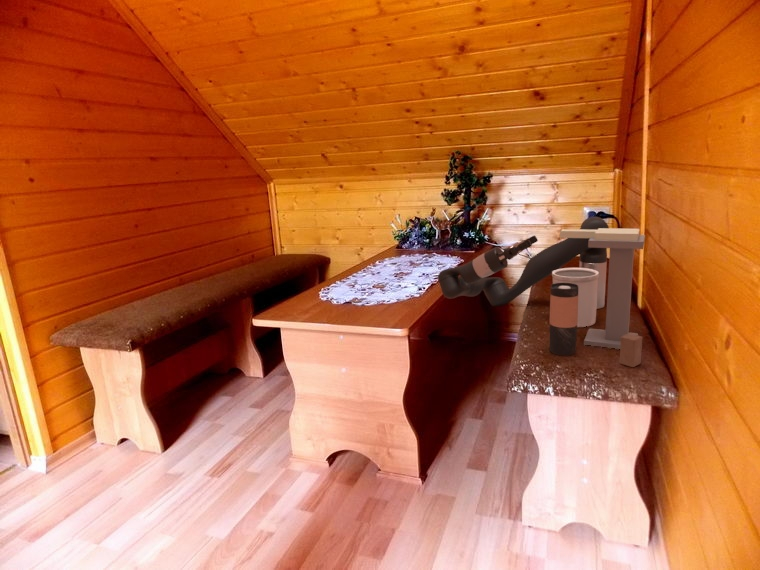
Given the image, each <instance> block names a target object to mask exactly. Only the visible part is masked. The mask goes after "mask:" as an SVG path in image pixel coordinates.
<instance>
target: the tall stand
mask: <svg viewBox="0 0 760 570" xmlns="http://www.w3.org/2000/svg"><path fill="white" fill-rule="evenodd" d="M645 238H646V234H639V238H638V241H612V240H595V238H590V239H589V240H588V247H591V248H607V249H609V259H608V260H609V261H608V262H609V263H608V275H607V276H608V279H607V293H606V294H607V297H606V314H605V315H606V317H605V329H601V328H598V329H597V328H590V327H589V328H588V330H587V332H586V336H585V338H584V340H583V346H585V345H591V346H590V347H594V346H601V347H600V348H602V347H608V348H607V349H611V348H615V349H614V350H619V349H620V347H621V337H622V336H624V335H626V334H629V333H630V334H634V335H638V336H639V333H637V332H631V331H630V319H631V317H630V316H631V315H630V314H631V301H632V300H631V299H632V287H633V286H632V285H633V272H634V258H635V257H634V256H635V254H634V253H635V250H643V249H644V247H645V240H646V239H645ZM629 331H630V332H629Z"/></svg>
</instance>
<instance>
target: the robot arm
mask: <svg viewBox="0 0 760 570" xmlns="http://www.w3.org/2000/svg"><path fill="white" fill-rule="evenodd" d="M599 228H610V227H609V225H608V222H606V221H605V219H603V218H601V217H600V216H589V217H588V218H586V219H584V220H583V222H582V223H581V225H580V228H579V229H586V230H598V229H599ZM589 239H590V238H565V239H563V240H562V241H559V242H556V243H553V244H552V245H550V246H547V247H545V248H544V249H543V250H540V251H539V252H538V253H536V254H535V255H533V256H532V257H531V258H529V260H528V261H527V263H526V265H525V266H524V268H523V271H522V273H521V275H520V276H519V279H518V280H516V282H515V284H514V285H513V286H511V287H510V288H509V286H508V284H507V283H506V281H505V280H504V279H503V278H502V277H500V276H499V277H498V276H495V277H493V276H492V275H493V274H496V273H498V272H500V271H502V270H504V269H505V268H507V267H508V264H509V263H508V260H509V261H510V260H512V259H513V258H515V257H517V256H518V255H519V254H520V253H522V252H524V250H526V249H529V248H530V247H532V245H533V244H535V243H537V242H538V241H539V240H538V237H537V236H536V235H532V236H530V237H528V238H526V239H523V240H521V241H519V242H515V243H513V244H512V245H508V246H506V247H505V248H503V250H502V249H501V248H500V247H498V246H495V247H493V248H491V249H489V250H487V251H485V252H484V253H481V254H480V255H478V256H477V257H475V258H473V259H472V260H470V261H468V262H467V263H465V264H462V265H459V266H455V267H451V268H445V269H443V270H441V271H439V274H438V276H437V280H438V283H439V287H440V289H441V292H442V295H443V296H444V297H445V298H446V299H450V300H452V299H456V298H458V297H462V296H465V297H472V298H474V297H476V296H479V295H480V294H481V293H482V291H483V292H484V295H485V297H486V298H487V300H488V302H489V304H490V306H492V307H502V306H503V307H504V306H505V305H509V303H511V302H512V301H513V300H515V299H516V298H518V297H519V296H520V295H522V294H523V293H524V292H525V291H527V290H528V289H530V288H531V287H533V286H534V285H536V284H537V283H539V282H541V281H542V280H544V279H545V278H546V279H547V278H548V277H549V276H550V275H551V276H552V272H553V271H554V270H557V269H562V267H564V266H565V265H567V264H568V263H570V262H572V260H574V258H576V257H578V256H579V267H578V268H588V269H593V270H596V271H598V272H599V277H598V287H597V309H603V308H605V302H606V301H605V300H606V299H605V298H606V297H605V296H606V280H607V263H608V261H607V260H608V251H607V249H608V248H591V247H588V240H589ZM489 276H490V277H489ZM491 276H492V277H491ZM597 309H596V310H597Z"/></svg>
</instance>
